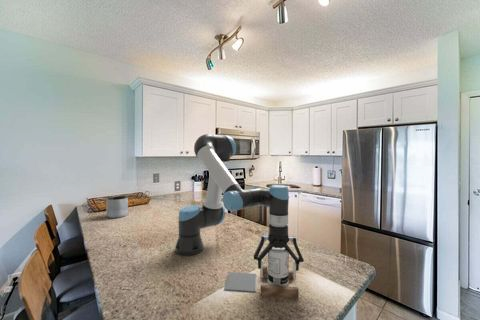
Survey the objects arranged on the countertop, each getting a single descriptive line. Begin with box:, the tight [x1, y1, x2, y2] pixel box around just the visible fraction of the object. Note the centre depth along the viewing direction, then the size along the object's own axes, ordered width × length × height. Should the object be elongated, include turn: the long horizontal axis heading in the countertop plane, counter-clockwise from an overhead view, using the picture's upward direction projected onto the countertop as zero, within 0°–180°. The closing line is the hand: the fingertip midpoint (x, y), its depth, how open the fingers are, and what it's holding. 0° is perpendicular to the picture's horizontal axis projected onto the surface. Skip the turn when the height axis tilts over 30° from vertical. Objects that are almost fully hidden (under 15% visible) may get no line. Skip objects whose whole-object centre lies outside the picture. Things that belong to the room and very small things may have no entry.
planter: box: [105, 195, 129, 219], centre depth 180 cm, size 16×16×16 cm
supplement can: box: [267, 247, 290, 287], centre depth 85 cm, size 8×8×15 cm
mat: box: [223, 271, 257, 293], centre depth 88 cm, size 12×12×1 cm
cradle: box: [259, 264, 300, 299], centre depth 85 cm, size 14×13×4 cm
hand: (277, 277), depth 85 cm, fingers open, 12 cm apart
